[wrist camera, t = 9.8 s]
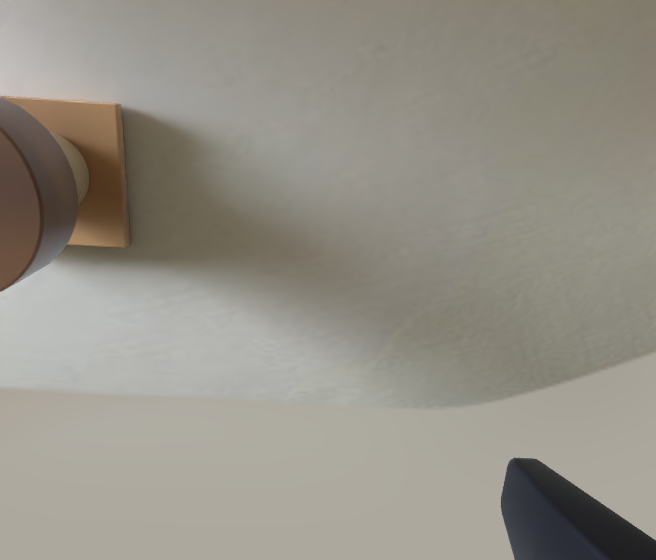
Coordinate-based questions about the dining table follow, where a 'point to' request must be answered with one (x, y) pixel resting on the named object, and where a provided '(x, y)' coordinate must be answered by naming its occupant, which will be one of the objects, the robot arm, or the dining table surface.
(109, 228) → the plate
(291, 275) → the dining table surface
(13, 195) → the mushroom
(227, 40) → the dining table surface
